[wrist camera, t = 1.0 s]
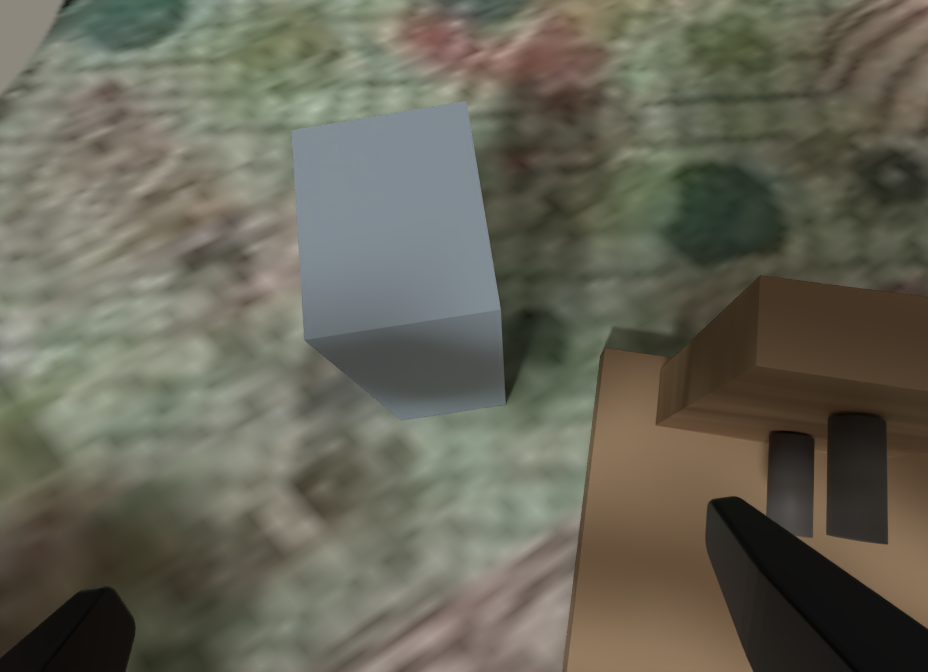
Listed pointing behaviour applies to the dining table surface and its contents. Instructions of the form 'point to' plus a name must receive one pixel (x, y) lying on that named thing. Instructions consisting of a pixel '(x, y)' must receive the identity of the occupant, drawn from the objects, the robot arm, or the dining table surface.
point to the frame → (751, 467)
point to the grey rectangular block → (400, 260)
